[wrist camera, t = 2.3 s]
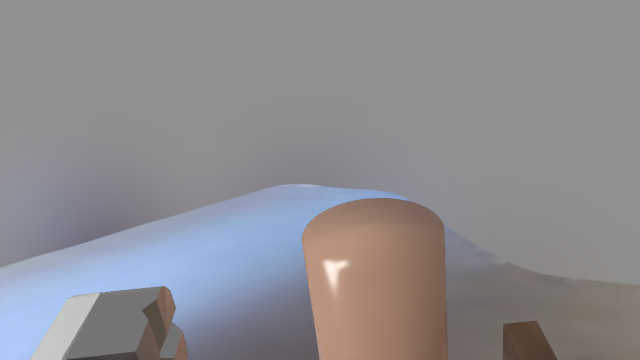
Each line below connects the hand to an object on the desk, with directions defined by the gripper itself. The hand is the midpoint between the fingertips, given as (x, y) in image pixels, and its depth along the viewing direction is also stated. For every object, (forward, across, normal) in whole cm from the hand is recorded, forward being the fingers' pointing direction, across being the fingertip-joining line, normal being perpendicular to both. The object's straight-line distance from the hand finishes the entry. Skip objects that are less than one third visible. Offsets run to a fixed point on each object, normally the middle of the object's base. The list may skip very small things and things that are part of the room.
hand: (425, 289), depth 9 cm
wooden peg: (+12, 0, +24) cm, 27 cm away
